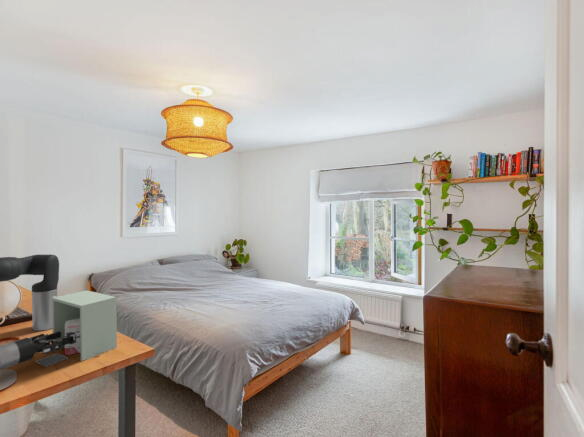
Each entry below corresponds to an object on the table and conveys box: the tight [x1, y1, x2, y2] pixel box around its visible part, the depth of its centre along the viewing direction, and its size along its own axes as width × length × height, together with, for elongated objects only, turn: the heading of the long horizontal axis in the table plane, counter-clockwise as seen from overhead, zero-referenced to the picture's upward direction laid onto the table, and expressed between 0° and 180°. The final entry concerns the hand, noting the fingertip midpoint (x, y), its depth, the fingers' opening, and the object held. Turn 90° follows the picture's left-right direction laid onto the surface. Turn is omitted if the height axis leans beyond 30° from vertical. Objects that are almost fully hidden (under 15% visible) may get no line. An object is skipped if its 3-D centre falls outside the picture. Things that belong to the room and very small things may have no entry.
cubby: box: [52, 290, 118, 362], centre depth 126 cm, size 20×13×20 cm, turn 61°
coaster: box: [35, 352, 69, 368], centre depth 116 cm, size 7×7×1 cm
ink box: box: [64, 319, 81, 356], centre depth 124 cm, size 8×5×12 cm, turn 123°
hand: (66, 336), depth 121 cm, fingers open, 8 cm apart
